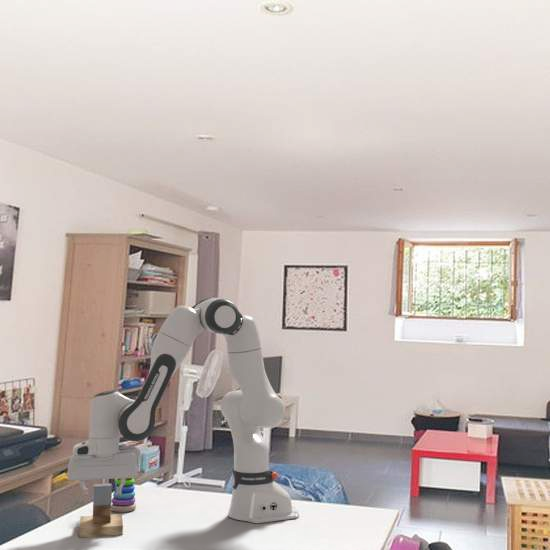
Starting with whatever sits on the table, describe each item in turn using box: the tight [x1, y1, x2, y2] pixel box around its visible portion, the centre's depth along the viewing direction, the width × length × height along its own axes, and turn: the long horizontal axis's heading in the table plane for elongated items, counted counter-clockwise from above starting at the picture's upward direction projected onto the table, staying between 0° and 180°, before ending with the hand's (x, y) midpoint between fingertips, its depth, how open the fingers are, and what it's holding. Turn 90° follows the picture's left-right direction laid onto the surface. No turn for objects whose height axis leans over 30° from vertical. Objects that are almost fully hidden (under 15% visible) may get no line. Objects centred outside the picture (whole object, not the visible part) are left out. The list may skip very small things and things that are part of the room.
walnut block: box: [92, 504, 112, 524], centre depth 187 cm, size 5×5×5 cm
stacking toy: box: [111, 478, 137, 513], centre depth 209 cm, size 8×8×19 cm
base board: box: [78, 513, 124, 538], centre depth 187 cm, size 12×12×2 cm
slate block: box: [92, 482, 113, 506], centre depth 188 cm, size 5×5×5 cm
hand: (102, 494), depth 188 cm, fingers open, 8 cm apart
